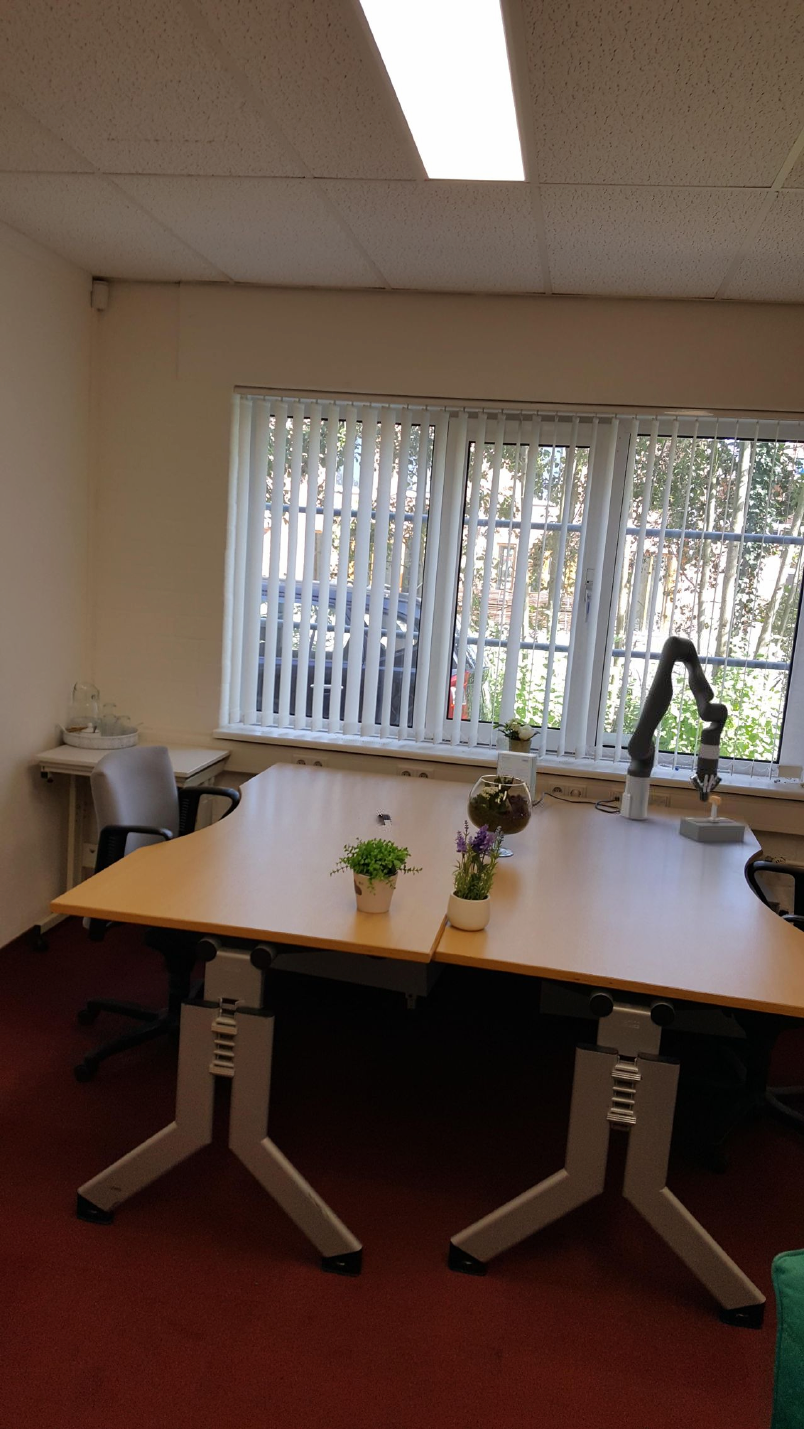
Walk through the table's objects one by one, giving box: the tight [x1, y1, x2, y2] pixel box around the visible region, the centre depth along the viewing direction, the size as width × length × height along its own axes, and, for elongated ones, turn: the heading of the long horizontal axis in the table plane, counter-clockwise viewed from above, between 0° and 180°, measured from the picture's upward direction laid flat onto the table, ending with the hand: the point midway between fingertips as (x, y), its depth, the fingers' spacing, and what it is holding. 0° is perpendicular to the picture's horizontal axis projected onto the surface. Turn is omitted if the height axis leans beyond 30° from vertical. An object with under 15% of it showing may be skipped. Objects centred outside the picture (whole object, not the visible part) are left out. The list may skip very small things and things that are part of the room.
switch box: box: [678, 817, 746, 843], centre depth 365 cm, size 20×12×6 cm, turn 106°
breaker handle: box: [706, 795, 722, 822], centre depth 364 cm, size 3×4×9 cm
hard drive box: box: [496, 750, 538, 802], centre depth 407 cm, size 16×8×20 cm, turn 65°
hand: (703, 801), depth 362 cm, fingers closed
